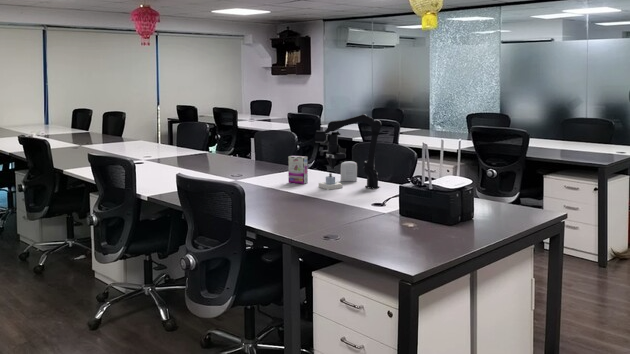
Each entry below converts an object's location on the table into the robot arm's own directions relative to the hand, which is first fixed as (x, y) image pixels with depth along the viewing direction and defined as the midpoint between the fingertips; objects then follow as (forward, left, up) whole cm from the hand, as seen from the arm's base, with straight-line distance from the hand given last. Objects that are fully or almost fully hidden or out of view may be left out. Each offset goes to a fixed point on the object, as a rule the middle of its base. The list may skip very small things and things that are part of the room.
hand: (332, 169), depth 345 cm
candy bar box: (+20, +12, -11) cm, 26 cm away
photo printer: (+9, -18, -11) cm, 23 cm away
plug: (-2, +3, -10) cm, 11 cm away
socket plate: (-2, +3, -10) cm, 11 cm away
